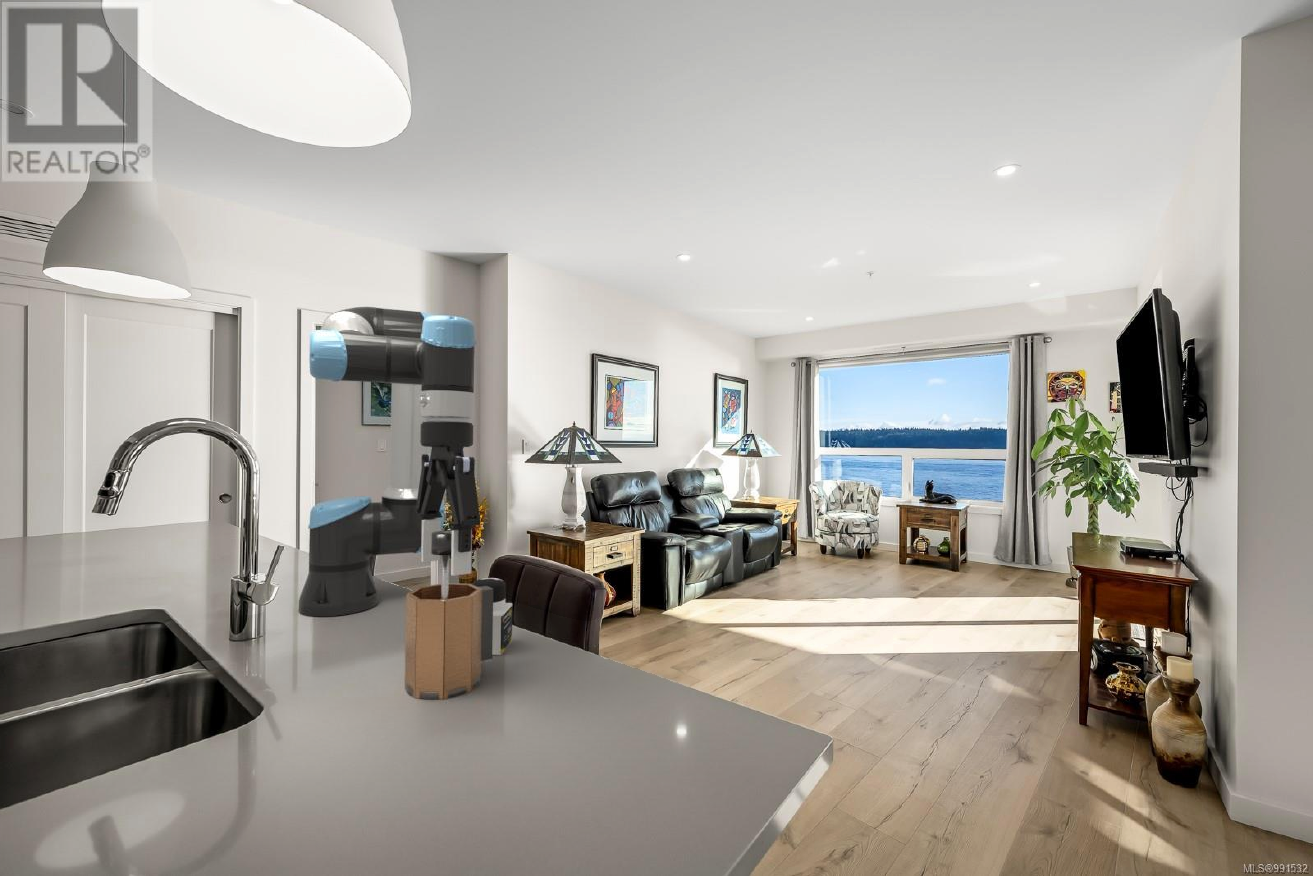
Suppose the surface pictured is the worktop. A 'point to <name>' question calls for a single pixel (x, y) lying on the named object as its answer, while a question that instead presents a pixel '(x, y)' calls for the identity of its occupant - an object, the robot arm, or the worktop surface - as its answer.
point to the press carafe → (447, 639)
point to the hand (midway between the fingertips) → (445, 567)
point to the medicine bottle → (499, 614)
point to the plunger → (442, 547)
